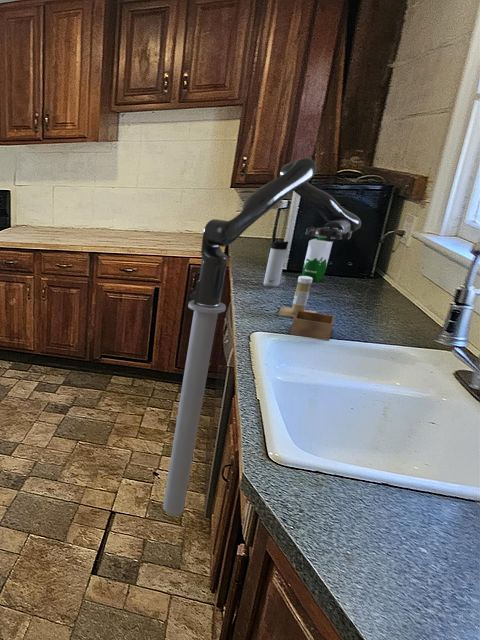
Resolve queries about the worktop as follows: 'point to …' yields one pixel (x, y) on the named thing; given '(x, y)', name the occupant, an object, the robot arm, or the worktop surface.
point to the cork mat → (289, 312)
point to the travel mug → (275, 264)
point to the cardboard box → (312, 325)
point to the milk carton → (317, 258)
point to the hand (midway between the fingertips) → (323, 235)
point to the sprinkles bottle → (301, 293)
